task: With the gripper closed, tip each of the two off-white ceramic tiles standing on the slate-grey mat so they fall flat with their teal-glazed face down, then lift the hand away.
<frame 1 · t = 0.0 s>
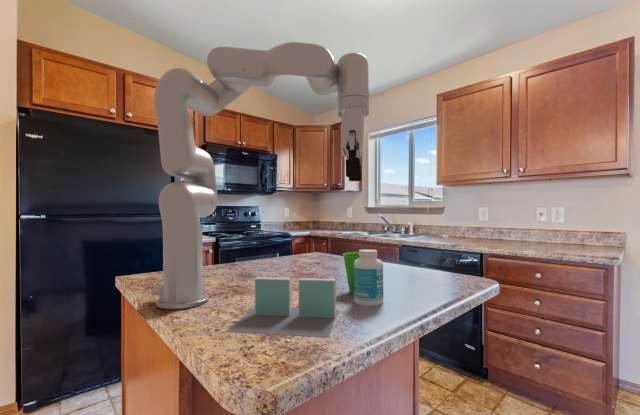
hand: (354, 179, 75), 31 cm above the countertop, fingers open, 9 cm apart
tile b: (317, 316, 68), point 1 cm above the countertop, touching mat
pill bottle: (368, 304, 79), on the countertop
cup: (358, 292, 90), on the countertop
mat: (287, 322, 66), on the countertop
tile a: (273, 314, 69), point 1 cm above the countertop, touching mat
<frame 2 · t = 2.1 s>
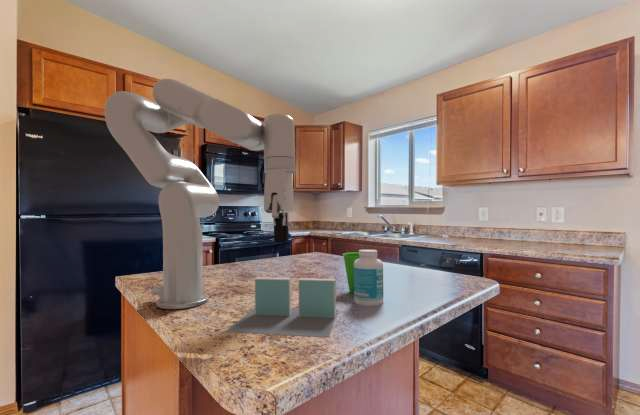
hand: (281, 242, 75), 16 cm above the countertop, fingers closed
nothing on the countertop moved.
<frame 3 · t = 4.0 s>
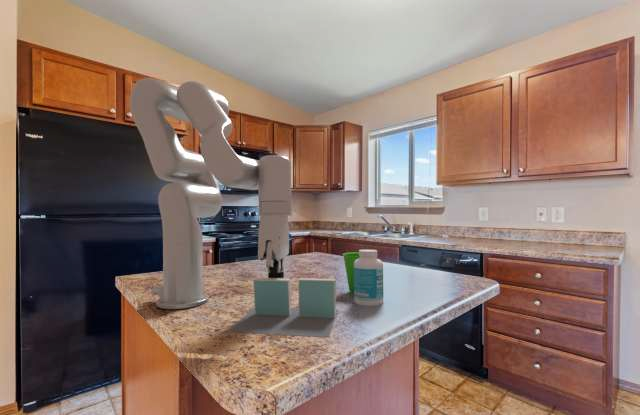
hand: (276, 289, 72), 6 cm above the countertop, fingers closed
tile a: (273, 314, 69), point 1 cm above the countertop, tilted 7°, touching gripper, mat
everything else where it was.
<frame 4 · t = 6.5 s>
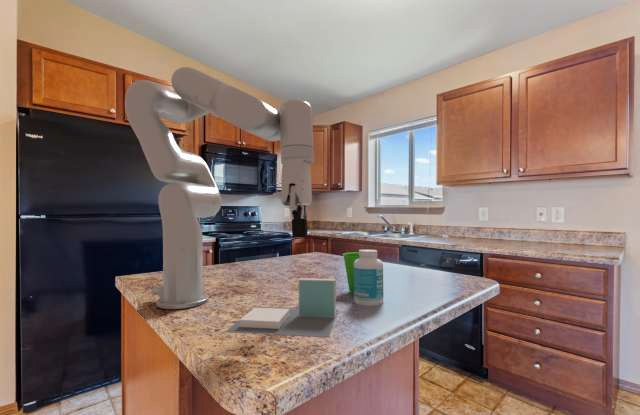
hand: (299, 236, 71), 18 cm above the countertop, fingers closed
tile a: (272, 311, 69), point 1 cm above the countertop, tilted 90°, touching mat
everything else where it was.
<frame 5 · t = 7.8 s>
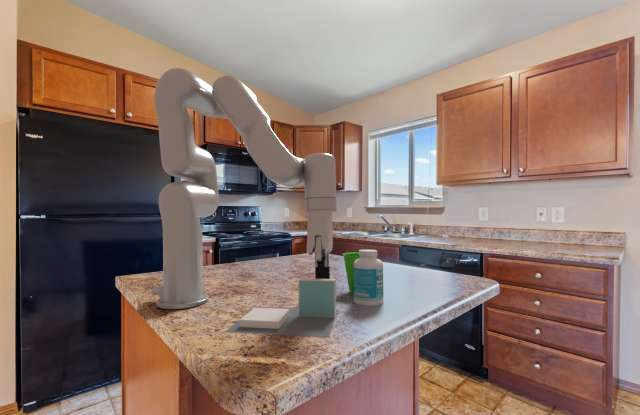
hand: (322, 283, 74), 6 cm above the countertop, fingers closed
nothing on the countertop moved.
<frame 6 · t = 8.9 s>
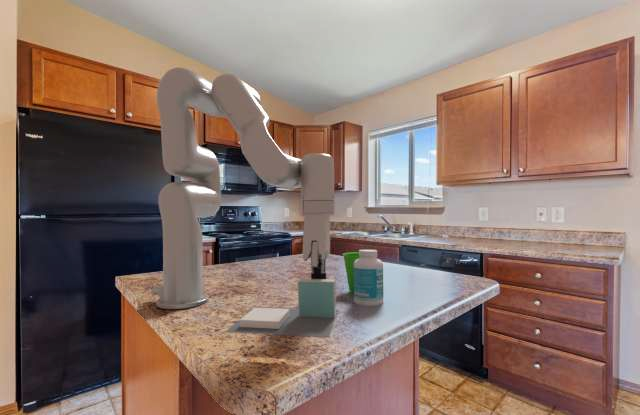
hand: (318, 290, 70), 6 cm above the countertop, fingers closed
tile b: (317, 315, 68), point 1 cm above the countertop, tilted 6°, touching mat
everything else where it was.
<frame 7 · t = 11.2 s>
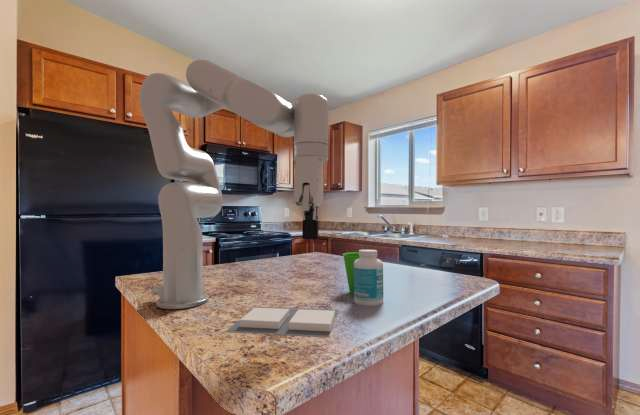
hand: (310, 238, 67), 18 cm above the countertop, fingers closed
tile b: (316, 313, 67), point 1 cm above the countertop, tilted 90°, touching mat
everything else where it was.
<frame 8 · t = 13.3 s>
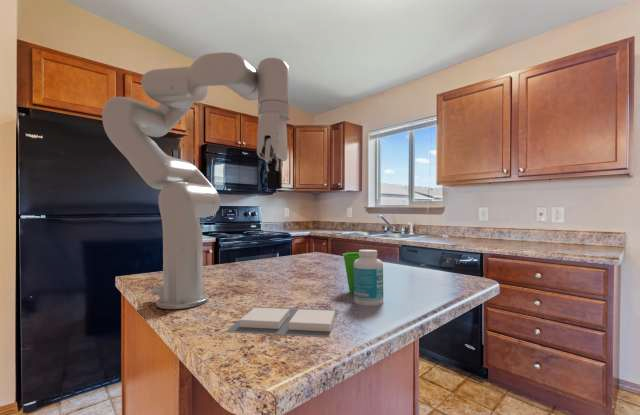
hand: (274, 188, 75), 29 cm above the countertop, fingers closed
nothing on the countertop moved.
at the end: tile a tilted 90°; tile b tilted 90°; tile b inside the target area (5.9 cm from its centre), point 1.4 cm above the countertop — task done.
